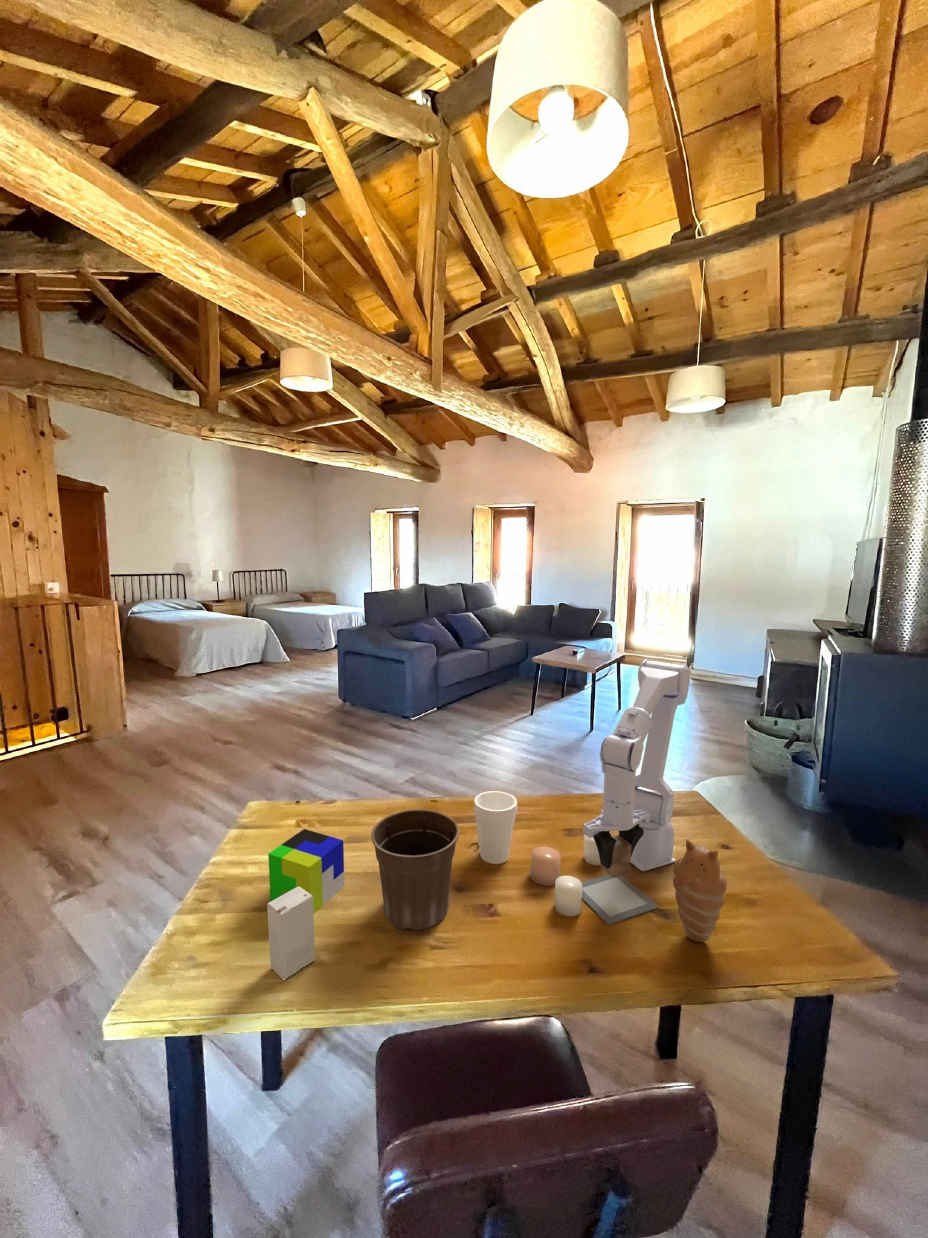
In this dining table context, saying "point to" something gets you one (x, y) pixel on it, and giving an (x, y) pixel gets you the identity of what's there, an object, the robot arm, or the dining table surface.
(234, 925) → the dining table surface
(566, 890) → the cream rounded capsule
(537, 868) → the peach rounded blob
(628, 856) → the walnut block
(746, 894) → the dining table surface
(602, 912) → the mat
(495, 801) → the foam cup
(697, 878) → the cat ice cream
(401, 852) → the plant pot
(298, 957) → the skincare box
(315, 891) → the puzzle toy
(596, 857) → the cream rounded cylinder
